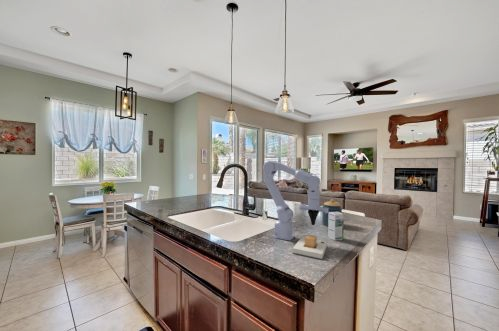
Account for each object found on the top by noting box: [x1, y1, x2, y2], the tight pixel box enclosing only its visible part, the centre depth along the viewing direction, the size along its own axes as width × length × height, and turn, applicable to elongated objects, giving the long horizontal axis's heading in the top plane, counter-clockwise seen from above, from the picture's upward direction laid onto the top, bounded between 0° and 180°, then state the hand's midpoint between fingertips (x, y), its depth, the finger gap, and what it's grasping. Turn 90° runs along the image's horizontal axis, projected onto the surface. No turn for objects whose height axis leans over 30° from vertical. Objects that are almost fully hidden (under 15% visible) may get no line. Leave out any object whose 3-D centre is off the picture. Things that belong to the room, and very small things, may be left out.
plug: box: [304, 234, 318, 249], centre depth 102 cm, size 4×6×6 cm
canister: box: [321, 198, 343, 227], centre depth 145 cm, size 13×13×18 cm
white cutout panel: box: [292, 237, 328, 260], centre depth 102 cm, size 13×16×3 cm
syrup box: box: [327, 212, 345, 241], centre depth 118 cm, size 6×6×14 cm
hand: (313, 224), depth 112 cm, fingers closed
